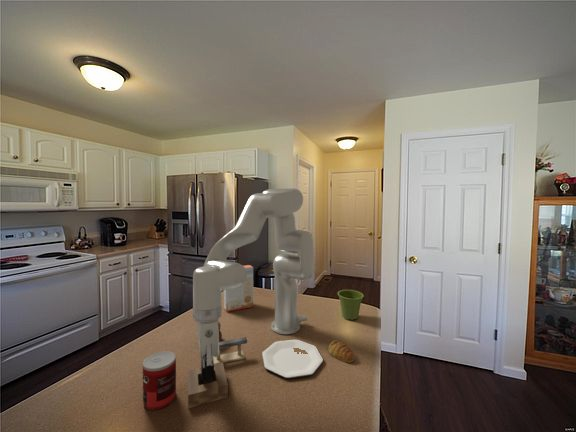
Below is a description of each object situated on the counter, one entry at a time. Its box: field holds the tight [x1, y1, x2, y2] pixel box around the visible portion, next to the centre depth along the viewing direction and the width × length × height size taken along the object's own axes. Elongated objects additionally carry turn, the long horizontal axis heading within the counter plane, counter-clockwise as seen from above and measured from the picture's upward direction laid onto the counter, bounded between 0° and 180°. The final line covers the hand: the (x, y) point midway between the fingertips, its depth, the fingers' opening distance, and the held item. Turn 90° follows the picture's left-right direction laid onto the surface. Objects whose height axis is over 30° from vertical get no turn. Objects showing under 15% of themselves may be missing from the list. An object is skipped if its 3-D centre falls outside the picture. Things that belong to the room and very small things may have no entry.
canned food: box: [142, 350, 177, 411], centre depth 66 cm, size 8×8×11 cm
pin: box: [200, 354, 213, 385], centre depth 69 cm, size 3×3×10 cm
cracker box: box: [223, 264, 254, 313], centre depth 124 cm, size 14×6×21 cm, turn 117°
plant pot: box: [337, 289, 365, 321], centre depth 116 cm, size 12×12×11 cm
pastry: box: [327, 339, 356, 364], centre depth 86 cm, size 9×7×4 cm
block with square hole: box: [187, 363, 229, 409], centre depth 69 cm, size 10×10×4 cm
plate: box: [261, 339, 324, 380], centre depth 84 cm, size 20×20×2 cm
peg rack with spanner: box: [213, 336, 248, 365], centre depth 83 cm, size 12×4×6 cm, turn 112°
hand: (207, 374), depth 69 cm, fingers closed on pin, 3 cm apart
